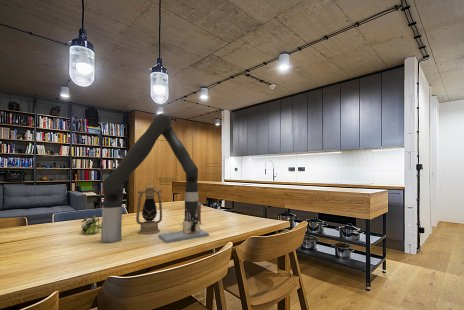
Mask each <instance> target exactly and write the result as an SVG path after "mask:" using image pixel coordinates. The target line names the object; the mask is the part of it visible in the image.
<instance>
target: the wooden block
mask: <svg viewBox="0 0 464 310" xmlns="http://www.w3.org/2000/svg"><path fill="white" fill-rule="evenodd" d="M185 211H187V209H185V208H184V212H185ZM196 213H197V214H199V217H198V221H199V222H200V225H201V223H202V222H201V221H202V219H201V218H202V217H201V215H202V203H201V202H198V208H197V209H196ZM183 222H185V219H183Z"/></svg>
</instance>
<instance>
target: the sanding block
mask: <svg viewBox="0 0 464 310" xmlns="http://www.w3.org/2000/svg"><path fill="white" fill-rule="evenodd" d="M200 225H201V224H200V222H199V221H198V224H196V229H195V232H191V221H185V222H184V221H182V231H183V233H184V234H186V235H187V234H193V233H200V229H201V228H200Z"/></svg>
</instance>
